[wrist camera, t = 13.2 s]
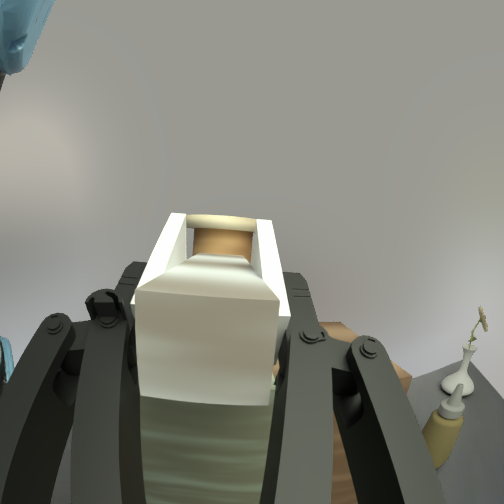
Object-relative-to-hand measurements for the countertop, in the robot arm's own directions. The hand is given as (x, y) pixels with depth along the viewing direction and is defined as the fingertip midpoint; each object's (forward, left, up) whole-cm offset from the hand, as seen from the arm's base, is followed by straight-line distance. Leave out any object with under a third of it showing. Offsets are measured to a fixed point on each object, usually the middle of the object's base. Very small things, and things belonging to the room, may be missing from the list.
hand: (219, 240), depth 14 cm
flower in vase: (+41, +62, -37) cm, 83 cm away
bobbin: (-1, +3, -4) cm, 5 cm away
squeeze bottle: (+26, +28, -37) cm, 53 cm away
